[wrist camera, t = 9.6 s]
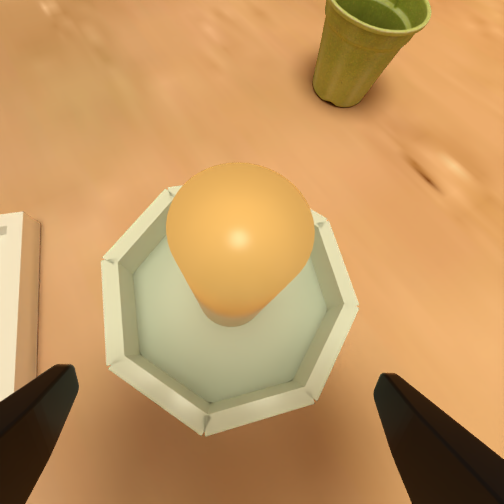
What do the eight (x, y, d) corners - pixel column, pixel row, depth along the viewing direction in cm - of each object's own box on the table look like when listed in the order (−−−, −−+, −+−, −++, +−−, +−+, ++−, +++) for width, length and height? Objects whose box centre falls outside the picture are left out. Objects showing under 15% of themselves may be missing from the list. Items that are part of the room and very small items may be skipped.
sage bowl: (356, 375, 20) (386, 381, 16) (135, 439, 17) (111, 465, 13) (296, 195, 25) (309, 168, 21) (119, 222, 22) (97, 196, 18)
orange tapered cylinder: (245, 339, 19) (278, 327, 8) (185, 306, 19) (133, 250, 8) (274, 280, 21) (334, 200, 10) (219, 251, 21) (214, 141, 10)
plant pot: (352, 55, 33) (395, -41, 25) (391, 110, 30) (453, 23, 22) (285, 67, 31) (307, -33, 23) (321, 127, 28) (360, 38, 20)
